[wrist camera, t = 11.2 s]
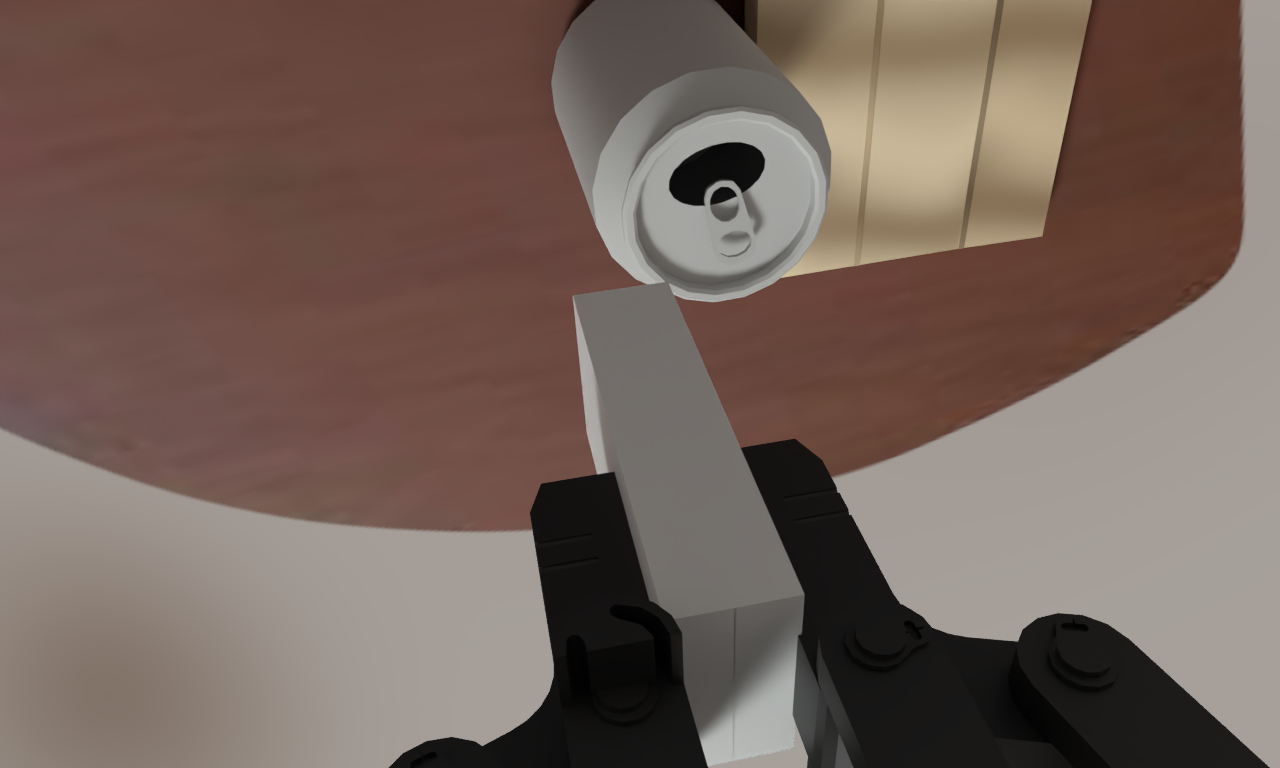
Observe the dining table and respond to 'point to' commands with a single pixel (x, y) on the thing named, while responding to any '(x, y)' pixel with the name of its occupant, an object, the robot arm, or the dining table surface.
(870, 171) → the plank
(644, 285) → the robot arm
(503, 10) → the dining table surface
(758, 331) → the dining table surface
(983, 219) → the laid board
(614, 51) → the can
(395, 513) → the dining table surface
